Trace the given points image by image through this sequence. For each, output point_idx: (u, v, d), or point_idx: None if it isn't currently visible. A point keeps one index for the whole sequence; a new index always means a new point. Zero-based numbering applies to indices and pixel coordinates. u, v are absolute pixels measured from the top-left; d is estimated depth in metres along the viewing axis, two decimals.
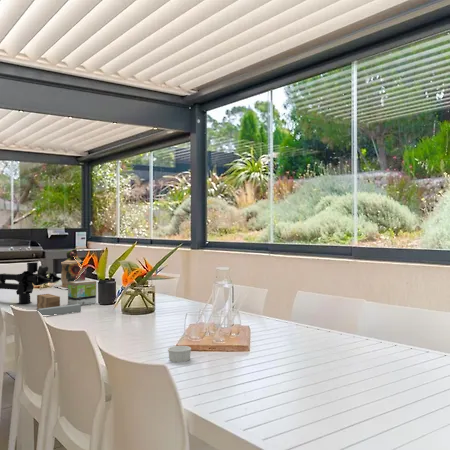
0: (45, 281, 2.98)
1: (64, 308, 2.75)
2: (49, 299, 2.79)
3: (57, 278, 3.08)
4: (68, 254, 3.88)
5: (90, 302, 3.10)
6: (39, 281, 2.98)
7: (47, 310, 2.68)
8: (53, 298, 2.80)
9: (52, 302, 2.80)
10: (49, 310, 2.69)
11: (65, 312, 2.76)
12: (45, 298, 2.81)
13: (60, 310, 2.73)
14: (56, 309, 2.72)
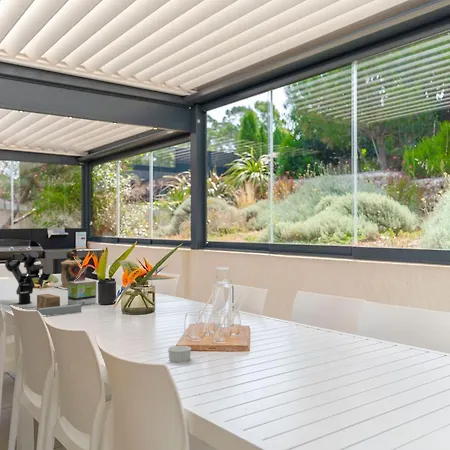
0: (30, 284, 2.96)
1: (64, 308, 2.75)
2: (49, 299, 2.79)
3: (40, 283, 2.99)
4: (68, 254, 3.88)
5: (90, 302, 3.10)
6: (26, 280, 2.96)
7: (46, 310, 2.69)
8: (53, 298, 2.80)
9: (52, 302, 2.80)
10: (48, 310, 2.69)
11: (65, 312, 2.75)
12: (45, 298, 2.81)
13: (60, 310, 2.73)
14: (56, 309, 2.72)
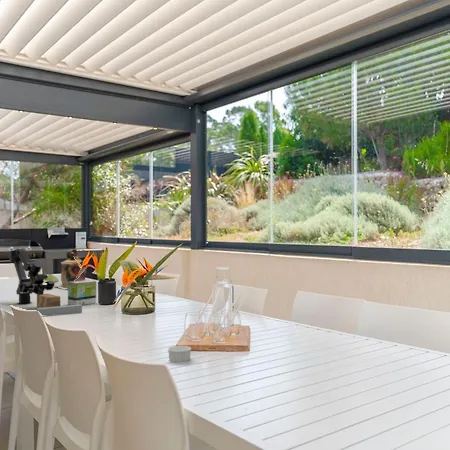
0: (38, 294, 2.93)
1: (63, 308, 2.75)
2: (50, 299, 2.78)
3: (41, 293, 2.93)
4: (68, 254, 3.88)
5: (90, 302, 3.10)
6: (34, 290, 2.94)
7: (45, 310, 2.69)
8: (54, 298, 2.80)
9: (53, 302, 2.80)
10: (47, 310, 2.70)
11: (65, 312, 2.75)
12: (45, 298, 2.81)
13: (59, 310, 2.73)
14: (55, 309, 2.72)
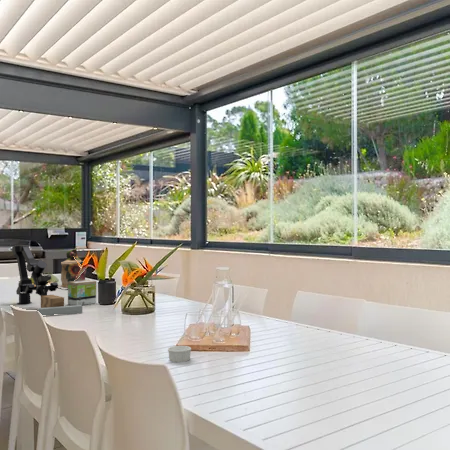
0: (42, 295, 2.89)
1: (64, 309, 2.73)
2: (53, 300, 2.75)
3: None
4: (68, 254, 3.88)
5: (90, 302, 3.10)
6: (37, 291, 2.90)
7: (45, 310, 2.69)
8: (57, 299, 2.77)
9: (56, 303, 2.76)
10: (47, 310, 2.69)
11: (65, 313, 2.74)
12: (49, 299, 2.77)
13: (59, 310, 2.72)
14: (55, 309, 2.71)
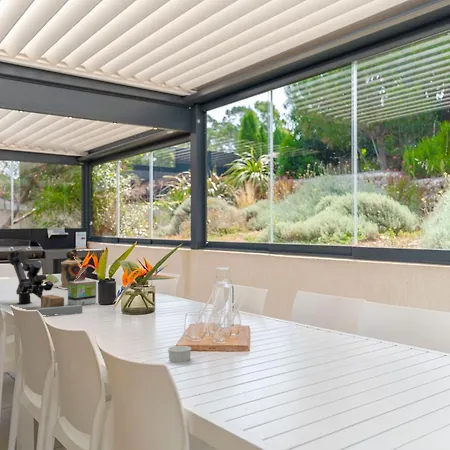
0: (37, 294, 2.94)
1: (64, 309, 2.74)
2: (53, 300, 2.75)
3: None
4: (68, 254, 3.88)
5: (90, 302, 3.10)
6: (33, 290, 2.95)
7: (46, 310, 2.68)
8: (57, 299, 2.76)
9: (56, 303, 2.76)
10: (48, 310, 2.69)
11: (65, 313, 2.74)
12: (49, 299, 2.77)
13: (60, 310, 2.72)
14: (55, 309, 2.71)
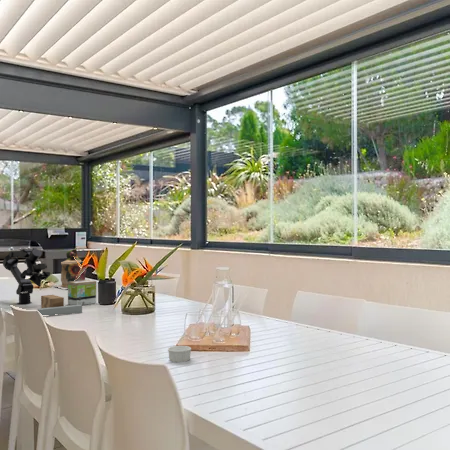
0: (35, 282, 2.99)
1: (64, 308, 2.74)
2: (53, 300, 2.75)
3: None
4: (68, 254, 3.88)
5: (90, 302, 3.10)
6: (32, 277, 2.99)
7: (46, 310, 2.68)
8: (57, 299, 2.76)
9: (56, 303, 2.76)
10: (48, 310, 2.69)
11: (65, 312, 2.74)
12: (49, 299, 2.77)
13: (60, 310, 2.72)
14: (56, 309, 2.71)
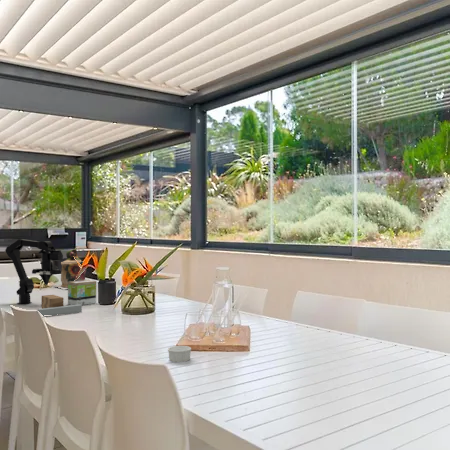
0: (47, 280, 3.07)
1: (64, 308, 2.74)
2: (52, 300, 2.75)
3: None
4: (68, 254, 3.88)
5: (90, 302, 3.10)
6: (49, 275, 3.06)
7: (47, 310, 2.68)
8: (56, 299, 2.76)
9: (55, 303, 2.76)
10: (49, 310, 2.68)
11: (65, 312, 2.74)
12: (48, 299, 2.77)
13: (60, 310, 2.72)
14: (56, 309, 2.71)
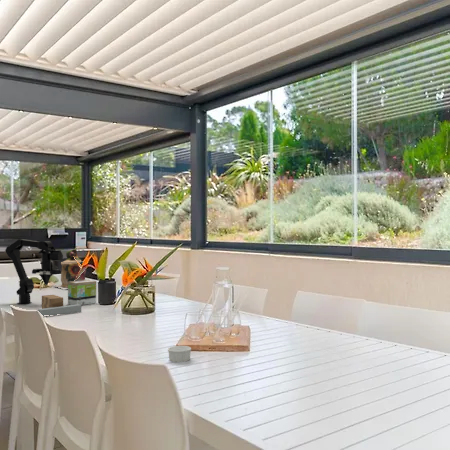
0: (47, 280, 3.07)
1: (64, 308, 2.74)
2: (52, 300, 2.74)
3: None
4: (68, 254, 3.88)
5: (90, 302, 3.10)
6: (49, 275, 3.06)
7: (47, 310, 2.67)
8: (56, 299, 2.76)
9: (55, 303, 2.76)
10: (49, 310, 2.68)
11: (65, 312, 2.75)
12: (48, 299, 2.77)
13: (60, 310, 2.72)
14: (56, 309, 2.71)
